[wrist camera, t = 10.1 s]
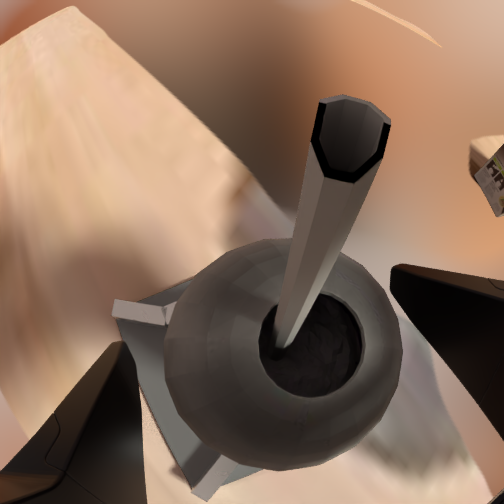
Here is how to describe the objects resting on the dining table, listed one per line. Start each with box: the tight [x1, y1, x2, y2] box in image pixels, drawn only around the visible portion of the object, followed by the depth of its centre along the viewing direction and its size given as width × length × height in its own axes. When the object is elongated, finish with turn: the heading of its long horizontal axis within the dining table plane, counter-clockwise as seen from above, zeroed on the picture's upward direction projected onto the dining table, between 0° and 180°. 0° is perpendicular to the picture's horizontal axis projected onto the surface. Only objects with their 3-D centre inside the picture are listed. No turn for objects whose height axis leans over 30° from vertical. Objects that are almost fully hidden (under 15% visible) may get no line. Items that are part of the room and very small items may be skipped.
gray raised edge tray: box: [116, 279, 263, 488], centre depth 20 cm, size 13×14×1 cm
